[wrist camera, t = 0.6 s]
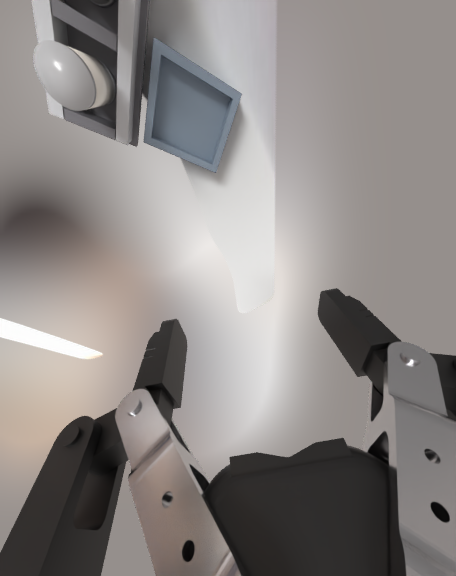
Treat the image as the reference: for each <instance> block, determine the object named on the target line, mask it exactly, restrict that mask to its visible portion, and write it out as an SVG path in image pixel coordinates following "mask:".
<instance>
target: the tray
mask: <svg viewBox="0 0 456 576" xmlns="http://www.w3.org/2000/svg"><path fill="white" fill-rule="evenodd" d="M241 95H242V94H241V93H240V92H238V91H237V90H235V89H234V88H232V87H231V86H229V85H227V84H226V83H224V82H223V81H221V80H220V79H218V78H217V77H215V76H214V75H212V74H210V73H209V72H207V71H206V70H204V69H203V68H201V67H200V66H198V65H196V64H195V63H193V62H192V61H190V60H189V59H187V58H186V57H184V56H183V55H181V54H179V53H178V52H176V51H175V50H173V49H172V48H170V47H169V46H167V45H166V44H164V43H162V42H161V41H159V40H158V39H156V38H155V37H154V40H153V51H152V61H151V71H150V82H149V92H148V102H147V113H146V123H145V134H144V143H147V144H149V145H151V146H154V147H156V148H158V149H161V150H163V151H166V152H168V153H170V154H172V155H175V156H177V157H180V158H182V159H184V160H187V161H189V162H191V163H194V164H196V165H198V166H201V167H203V168H205V169H208V170H210V171H212V172H215V173H216V171H217V168H218V165H219V162H220V159H221V156H222V153H223V150H224V147H225V144H226V141H227V138H228V135H229V132H230V129H231V126H232V123H233V119H234V116H235V113H236V110H237V107H238V104H239V101H240V98H241Z"/></svg>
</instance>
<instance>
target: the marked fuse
mask: <svg viewBox="0 0 456 576" xmlns="http://www.w3.org/2000/svg"><path fill="white" fill-rule="evenodd" d="M90 1H91V2H92V3H94V4H95V5H97V6H99V7H101V8H109V7H111V6H112V5H113V4H114V3H115V2H116V0H90Z"/></svg>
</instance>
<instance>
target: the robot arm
mask: <svg viewBox="0 0 456 576" xmlns="http://www.w3.org/2000/svg"><path fill="white" fill-rule="evenodd" d="M318 317H319V320H320V322H321V323H322V325H323V326H324V328H325V329H326V331H327V332H328V334H329V335H330V337H331V338H332V340H333V341H334V343H335V344H336V345H337V347H338V348H339V350H340V352H341V353H342V355H343V356H344V357H345V359H346V360H347V362H348V363H349V365H350V366H351V368H352V369H353V371H354V372H355V374H356V375H357V377H360V376H366V375H367V376H368V377H369V379H370V380H371V381H370V385H369V403H368V420H367V427H366V431H365V435H364V440H363V450H360V449H358V448H354V447H351V446H347V444H346V442H345V440H344V438H340V439H334V440H329V441H323V442H316V443H314V444H312V445H310V446H308V447H307V448H305V449H303V450H301V451H300V452H298V453H296V454H294V455H293V456H291V457H280V456H275V455H269V454H263V453H251V454H245V455H239V456H234V457H230V465H228V466H226V467H225V468H224V469H222V470H221V471H220V472H219V473H218V474H217V475H216V476H215V477H214V478H213V480H212V481H211V482H210V480H209V478H208V477H207V475H206V473H205V472H204V470H203V468H202V467H201V465H200V464H199V462H198V461H197V460H196V458H195V457H194V455H193V454H192V452H191V451H190V449H189V447H188V445H187V443H186V442H185V440H184V438H183V437H182V435H181V433H180V431H179V430H178V428H177V426H176V425H175V423H174V421H173V419H172V413H173V409H175V408H180V407H181V400H182V391H183V380H184V372H185V362H186V352H187V340H186V336H185V334H184V332H183V330H182V328H181V326H180V323H179V321H178V320H177V319H173V320H167V321H163V322H162V324H161V328H160V331H159V332H155V333H154V334H153V336H152V337H151V338H150V340H149V342H148V344H147V348H146V352H145V354H144V359H143V360H142V363H141V367H140V370H139V373H138V376H137V379H136V382H135V386H134V388H133V391H132V392H130V393H129V394H128V395H126V396H125V397H124V398H123V400H122V401H121V402H120V404H119V406H118V408H116V409H114V410H113V411H111V412H109V413H107V414H105V415H103V416H101V417H99V418H97V419H95V420H94V419H92V418H91V417H88V416H82V417H79V418H77V419H75V420H74V421H72V422H71V423H69V424H68V425H67V426H66V427H65V428H64V429H63V430H62V432H61V433H60V434H59V436H58V437H57V439H56V441H55V442H54V444H53V446H52V449H51V450H50V453H49V455H48V457H47V459H46V461H45V463H44V465H43V467H42V469H41V471H40V473H39V475H38V477H37V479H36V481H35V483H34V485H33V487H32V489H31V491H30V493H29V495H28V498H27V500H26V502H25V504H24V506H23V508H22V510H21V512H20V514H19V516H18V518H17V520H16V522H15V524H14V526H13V528H12V530H11V532H10V534H9V536H8V538H7V540H6V542H5V544H4V546H3V549H2V550H1V552H0V576H101V572H102V568H103V563H104V559H105V554H106V550H107V545H108V540H109V536H110V531H111V527H112V523H113V518H114V514H115V509H116V505H117V500H118V496H119V491H120V487H121V482H122V477H123V473H124V469H125V464H126V461H128V460H129V463H130V466H131V473H130V474H129V477H128V481H129V487H130V491H131V494H132V497H133V501H134V504H135V508H136V511H137V514H138V518H139V521H140V524H141V527H142V531H143V534H144V537H145V541H146V544H147V548H148V551H149V554H150V557H151V561H152V564H153V567H154V571H155V574H156V576H456V356H452V355H442V354H432V353H428V352H427V351H426V350H424V349H422V348H421V347H419V346H417V345H414V344H411V343H407V342H402V341H401V340H399V339H398V338H397V337H396V336H395V335H394V334H393V333H392V332H391V331H390V330H389V329H388V328H387V327H386V326H385V325H384V324H383V323H382V322H381V321H380V320H379V319H378V318H377V317H376V316H374V315H373V314H372V313H371V312H370V311H369V310H367V308H366V307H365V306H364V305H363V304H362V303H361V302H360V301H358V300H356V299H355V298H352V297H350V296H345V295H344V294H343V293H342V292H340V290H339V289H337V288H336V289H331V290H325V291H322V292H321V294H320V301H319V307H318Z"/></svg>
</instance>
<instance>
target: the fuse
mask: <svg viewBox="0 0 456 576" xmlns="http://www.w3.org/2000/svg"><path fill="white" fill-rule="evenodd" d="M33 61H34V67H35V70H36V73H37V76H38V78H39V80H40V82H41V84H42V85H43V87H44V88H45V90H46V91H47V92H48V93H49V95H50V96H51V97H52V98H53V99H54V100H55V101H57V102H58V103H59V104H61V105H62V106H64V107H66V108H68V109H70V110H74V111H82V110H87V109H91V108H96V107H100V106H104V105H109V104H111V103H112V102H113V101H114V100H115V98H116V94H117V88H116V83H115V79H114V77H113V75H112V73H111V71H110V70H109V68H108V67H107V66H106V65H105V64H104V63H103V62H102V61H101V60H99V59H98V58H96V57H94V56H91V55H88V54H86V53H83V52H81V51H78V50H76V49H73V48H71V47H68V46H66V45H63V44H61V43H58V42H56V41H52V40H45V41H42V42H40V43H39V44H38V45H37V46H36V48H35V50H34V54H33Z"/></svg>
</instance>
